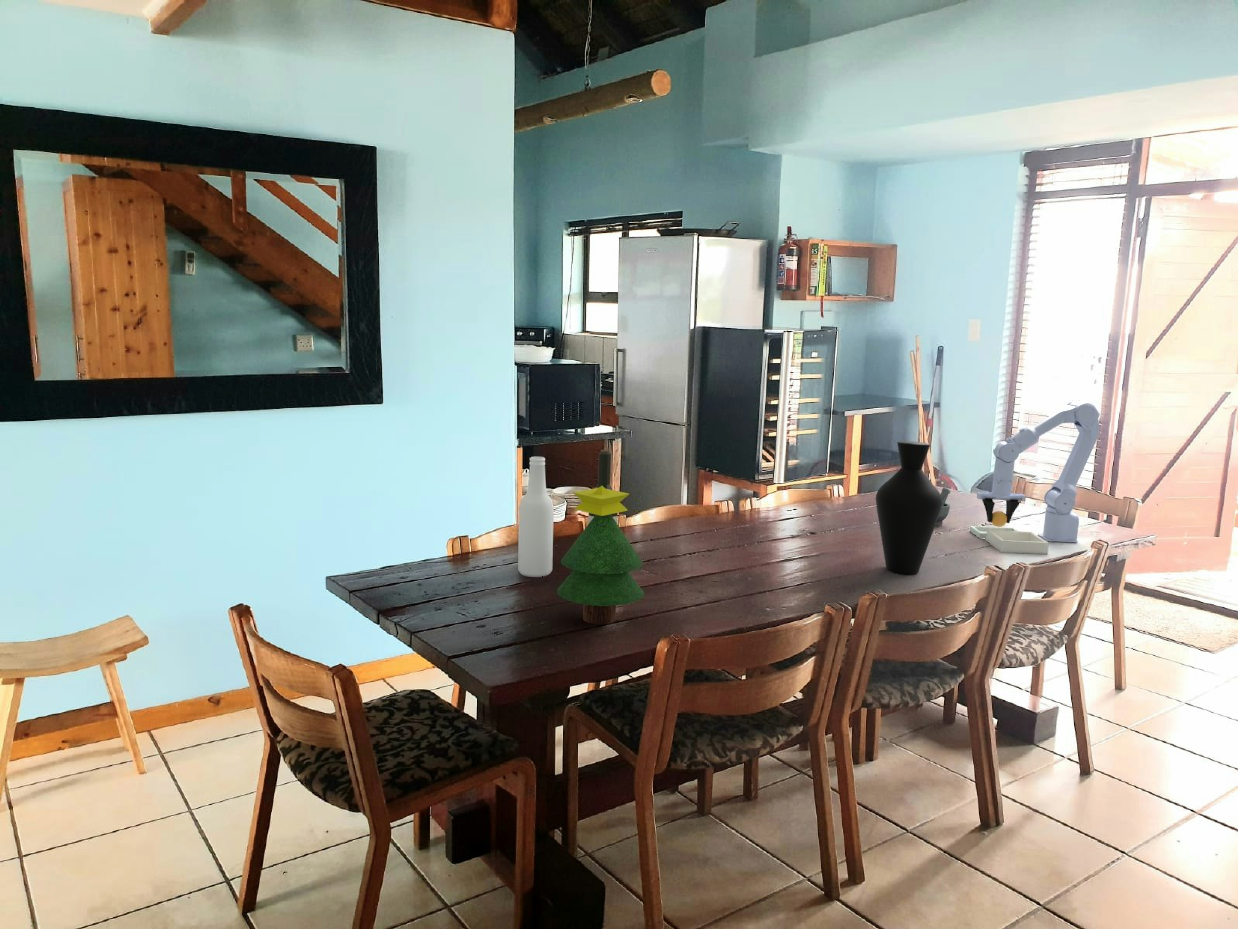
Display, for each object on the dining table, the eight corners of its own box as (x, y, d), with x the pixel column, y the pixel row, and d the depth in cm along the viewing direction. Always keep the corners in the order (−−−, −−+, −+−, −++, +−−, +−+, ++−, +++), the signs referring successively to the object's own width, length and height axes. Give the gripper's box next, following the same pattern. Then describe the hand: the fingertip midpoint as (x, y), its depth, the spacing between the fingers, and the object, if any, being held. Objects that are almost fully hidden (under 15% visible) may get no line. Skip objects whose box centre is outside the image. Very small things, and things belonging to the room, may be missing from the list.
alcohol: (520, 567, 248) (522, 454, 243) (553, 568, 248) (556, 455, 242) (515, 576, 239) (517, 459, 234) (550, 578, 239) (553, 461, 234)
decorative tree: (601, 640, 197) (606, 499, 192) (538, 617, 209) (541, 484, 204) (660, 619, 211) (666, 487, 206) (597, 599, 223) (601, 474, 218)
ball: (1002, 524, 303) (1004, 509, 303) (1008, 528, 299) (1010, 513, 298) (987, 524, 304) (988, 509, 303) (992, 528, 299) (994, 512, 298)
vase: (926, 583, 246) (938, 450, 240) (861, 571, 255) (872, 443, 249) (942, 569, 260) (954, 443, 254) (880, 558, 269) (890, 436, 263)
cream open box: (1030, 542, 294) (1031, 531, 294) (1047, 554, 281) (1048, 542, 280) (985, 540, 295) (987, 529, 294) (1000, 552, 281) (1002, 540, 281)
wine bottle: (594, 564, 253) (597, 453, 248) (581, 556, 260) (584, 448, 255) (621, 561, 257) (626, 452, 252) (608, 553, 264) (611, 447, 259)
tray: (1013, 533, 306) (1014, 527, 306) (1025, 541, 296) (1025, 535, 296) (969, 531, 307) (970, 525, 307) (979, 538, 297) (980, 533, 297)
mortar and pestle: (933, 528, 309) (937, 492, 307) (911, 522, 317) (914, 487, 315) (957, 525, 315) (960, 490, 313) (934, 519, 322) (938, 485, 320)
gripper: (983, 481, 295) (979, 523, 297) (1031, 483, 294) (1026, 526, 297) (976, 477, 302) (972, 518, 304) (1022, 479, 301) (1017, 521, 304)
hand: (998, 522), depth 301 cm, fingers closed on ball, 5 cm apart
